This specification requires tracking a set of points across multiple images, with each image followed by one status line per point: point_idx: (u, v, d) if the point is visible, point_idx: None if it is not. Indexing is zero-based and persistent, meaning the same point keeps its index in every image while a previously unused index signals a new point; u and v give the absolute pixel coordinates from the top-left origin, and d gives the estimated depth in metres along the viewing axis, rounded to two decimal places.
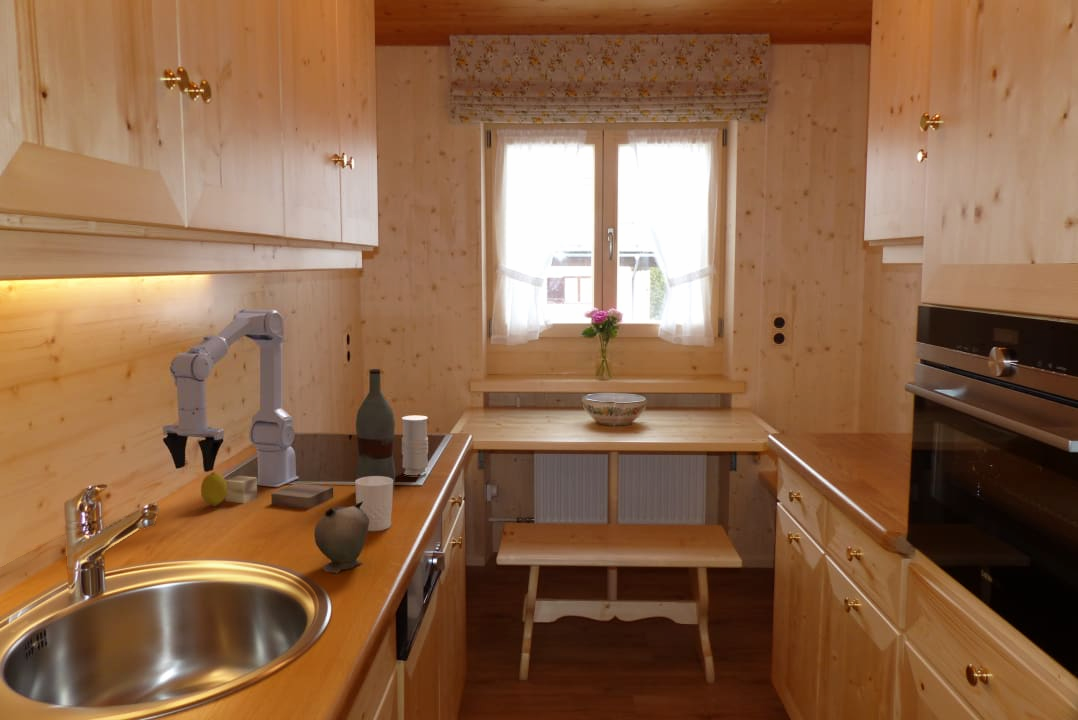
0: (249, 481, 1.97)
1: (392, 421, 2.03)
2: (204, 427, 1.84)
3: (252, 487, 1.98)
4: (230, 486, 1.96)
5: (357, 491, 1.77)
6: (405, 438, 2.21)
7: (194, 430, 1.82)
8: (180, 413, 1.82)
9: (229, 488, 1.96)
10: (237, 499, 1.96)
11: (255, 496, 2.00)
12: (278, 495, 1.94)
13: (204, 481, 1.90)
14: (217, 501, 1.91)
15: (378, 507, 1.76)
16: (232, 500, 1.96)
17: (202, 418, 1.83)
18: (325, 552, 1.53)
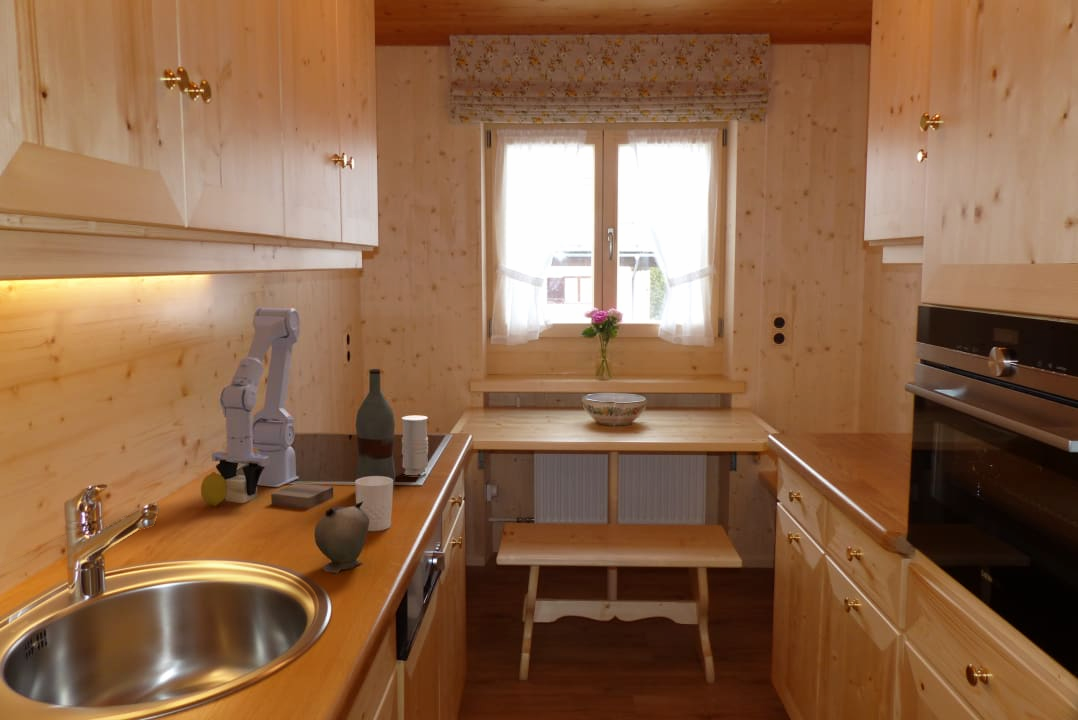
0: None
1: (392, 421, 2.03)
2: (251, 454, 1.97)
3: None
4: (230, 486, 1.96)
5: (357, 491, 1.77)
6: (405, 438, 2.21)
7: (242, 457, 1.95)
8: (229, 441, 1.95)
9: (229, 488, 1.96)
10: (237, 498, 1.96)
11: (255, 496, 1.99)
12: (278, 496, 1.94)
13: (204, 481, 1.90)
14: (217, 501, 1.91)
15: (378, 507, 1.76)
16: (232, 500, 1.96)
17: (249, 446, 1.96)
18: (325, 552, 1.53)
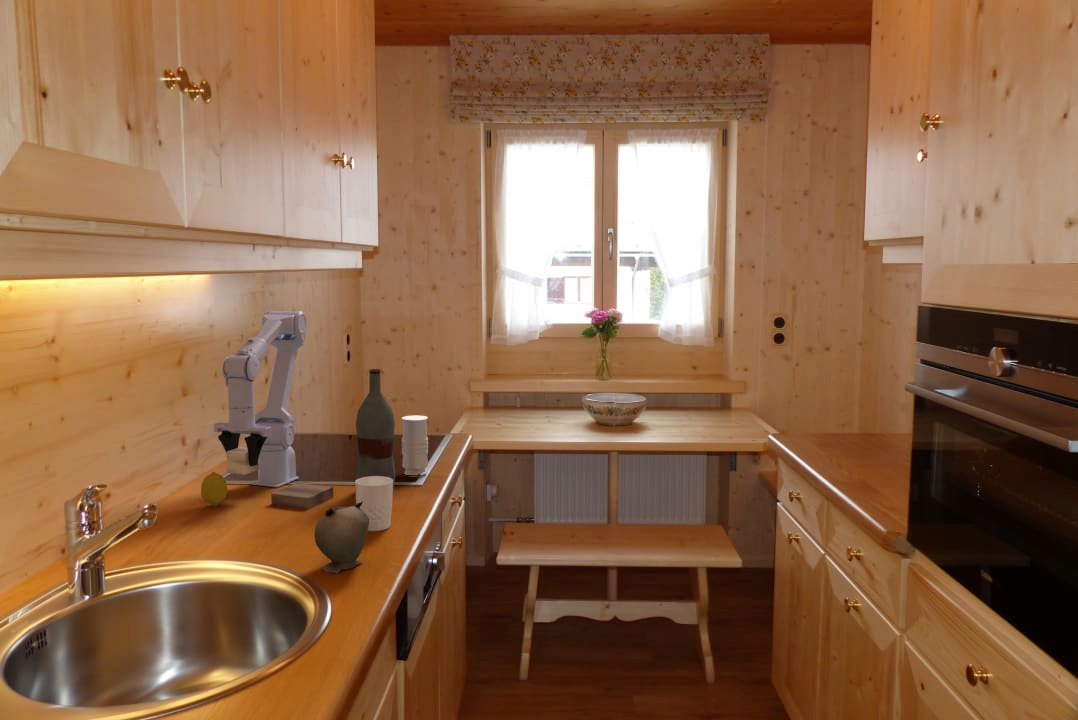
0: None
1: (392, 421, 2.03)
2: (253, 425, 1.96)
3: None
4: (232, 457, 1.95)
5: (357, 491, 1.77)
6: (405, 438, 2.21)
7: (244, 427, 1.94)
8: (231, 411, 1.94)
9: (231, 459, 1.95)
10: (239, 470, 1.95)
11: (257, 467, 1.99)
12: (278, 496, 1.94)
13: (204, 481, 1.90)
14: (217, 501, 1.91)
15: (378, 507, 1.76)
16: (234, 471, 1.95)
17: (251, 416, 1.95)
18: (325, 552, 1.53)
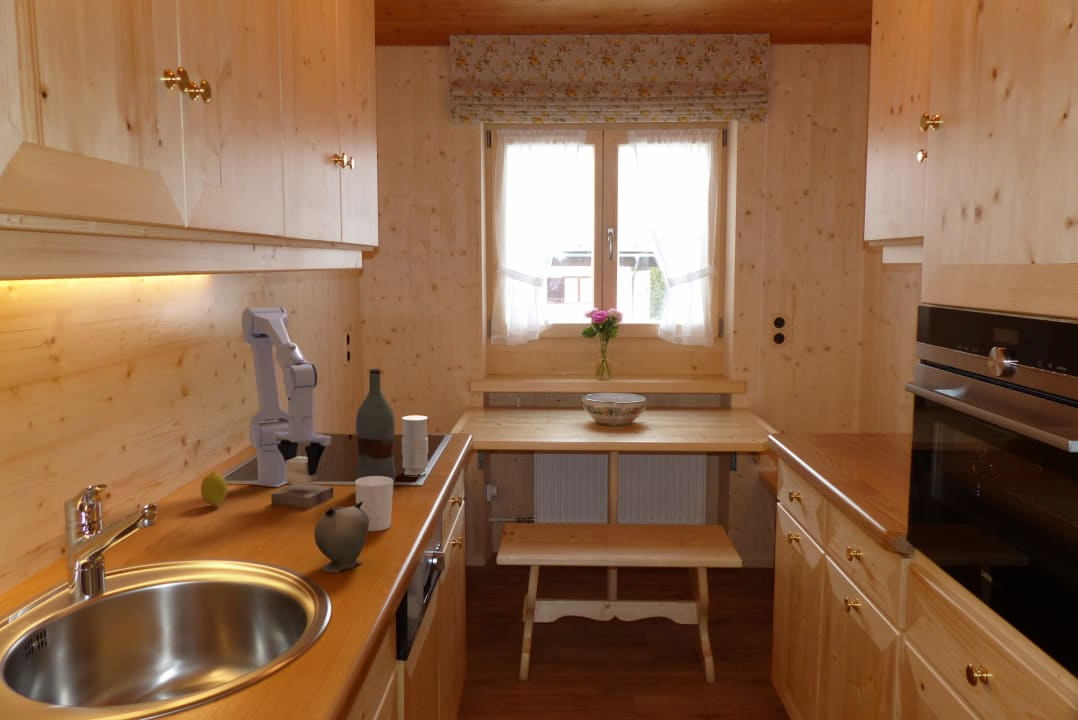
0: None
1: (392, 421, 2.03)
2: (312, 434, 1.95)
3: None
4: (291, 466, 1.95)
5: (357, 491, 1.77)
6: (405, 438, 2.21)
7: (304, 437, 1.93)
8: (291, 421, 1.93)
9: (290, 468, 1.95)
10: (298, 479, 1.94)
11: (315, 477, 1.98)
12: (278, 496, 1.94)
13: (204, 481, 1.90)
14: (217, 501, 1.91)
15: (378, 507, 1.76)
16: (293, 480, 1.95)
17: (311, 425, 1.95)
18: (325, 552, 1.53)
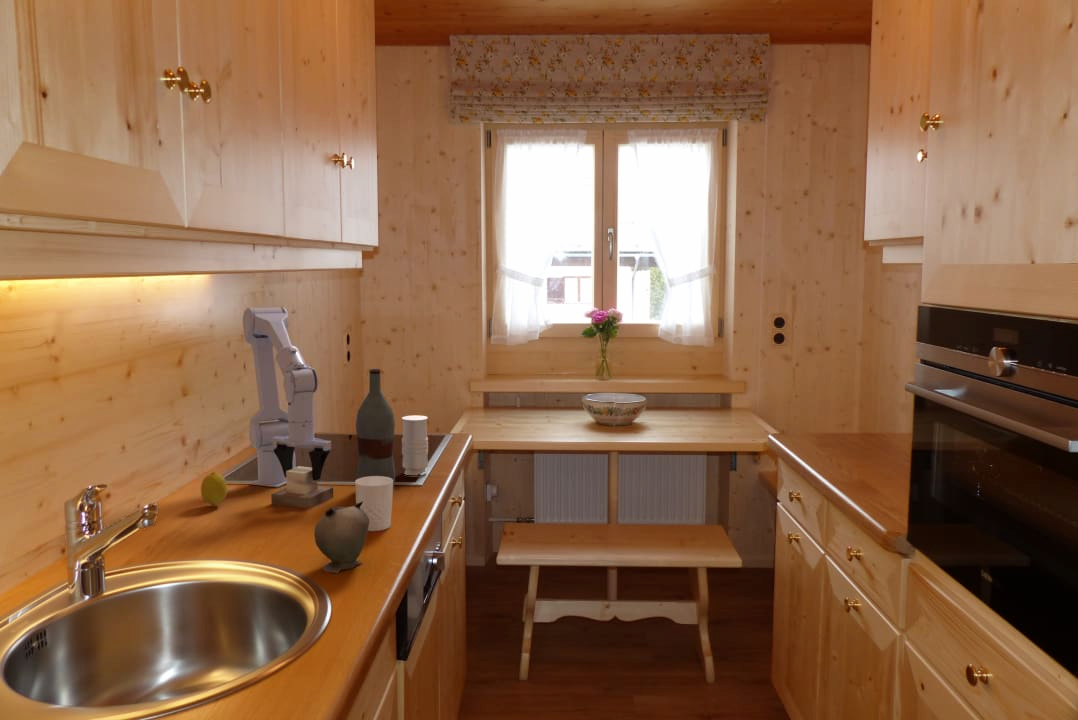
0: (310, 472, 1.96)
1: (392, 421, 2.03)
2: (312, 439, 1.96)
3: None
4: (292, 477, 1.95)
5: (357, 491, 1.77)
6: (405, 438, 2.21)
7: (304, 442, 1.94)
8: (291, 426, 1.93)
9: (290, 479, 1.95)
10: (298, 490, 1.95)
11: (315, 487, 1.98)
12: (278, 496, 1.94)
13: (204, 481, 1.90)
14: (217, 501, 1.91)
15: (378, 507, 1.76)
16: (293, 491, 1.95)
17: (311, 430, 1.95)
18: (325, 552, 1.53)
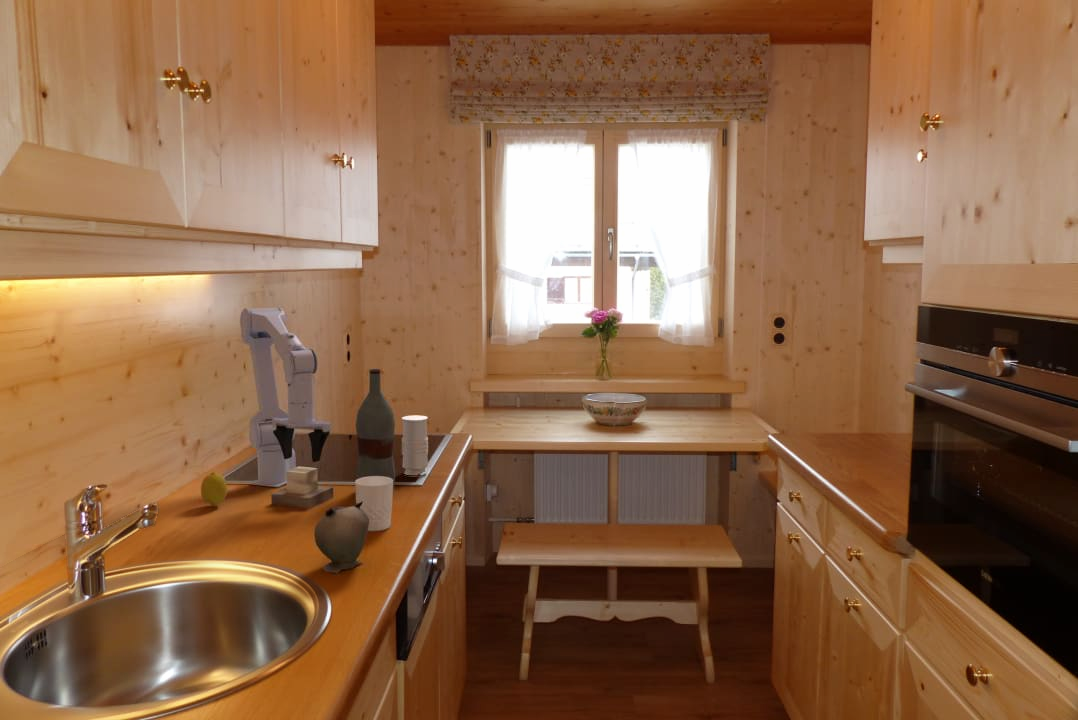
0: (310, 472, 1.96)
1: (392, 421, 2.03)
2: (312, 420, 1.95)
3: (313, 478, 1.97)
4: (292, 477, 1.95)
5: (357, 491, 1.77)
6: (405, 438, 2.21)
7: (304, 423, 1.93)
8: (291, 407, 1.93)
9: (290, 479, 1.95)
10: (299, 490, 1.95)
11: (316, 487, 1.98)
12: (278, 496, 1.94)
13: (204, 481, 1.90)
14: (217, 501, 1.91)
15: (378, 507, 1.76)
16: (293, 491, 1.95)
17: (311, 411, 1.94)
18: (325, 552, 1.53)
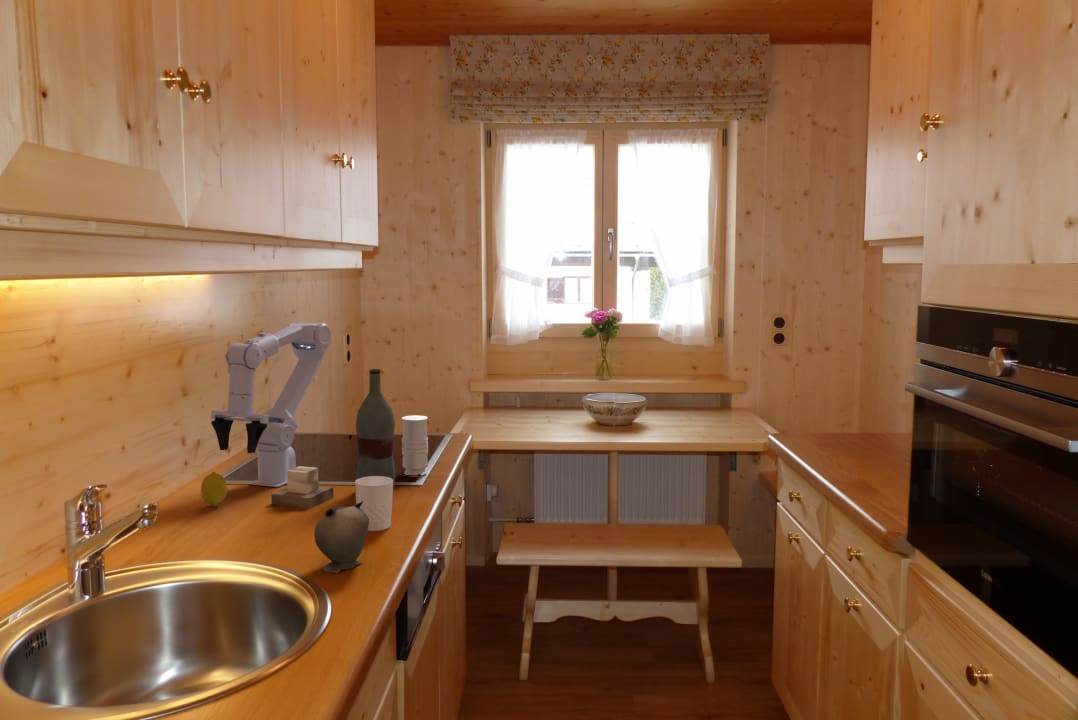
0: (311, 471, 1.96)
1: (392, 421, 2.03)
2: (251, 412, 2.00)
3: (314, 477, 1.97)
4: (293, 477, 1.95)
5: (357, 491, 1.77)
6: (405, 438, 2.21)
7: (242, 413, 1.98)
8: (231, 397, 1.98)
9: (291, 478, 1.95)
10: (300, 489, 1.95)
11: (316, 487, 1.99)
12: (278, 496, 1.94)
13: (204, 481, 1.90)
14: (217, 501, 1.91)
15: (378, 507, 1.76)
16: (294, 490, 1.95)
17: (250, 403, 2.00)
18: (325, 552, 1.53)
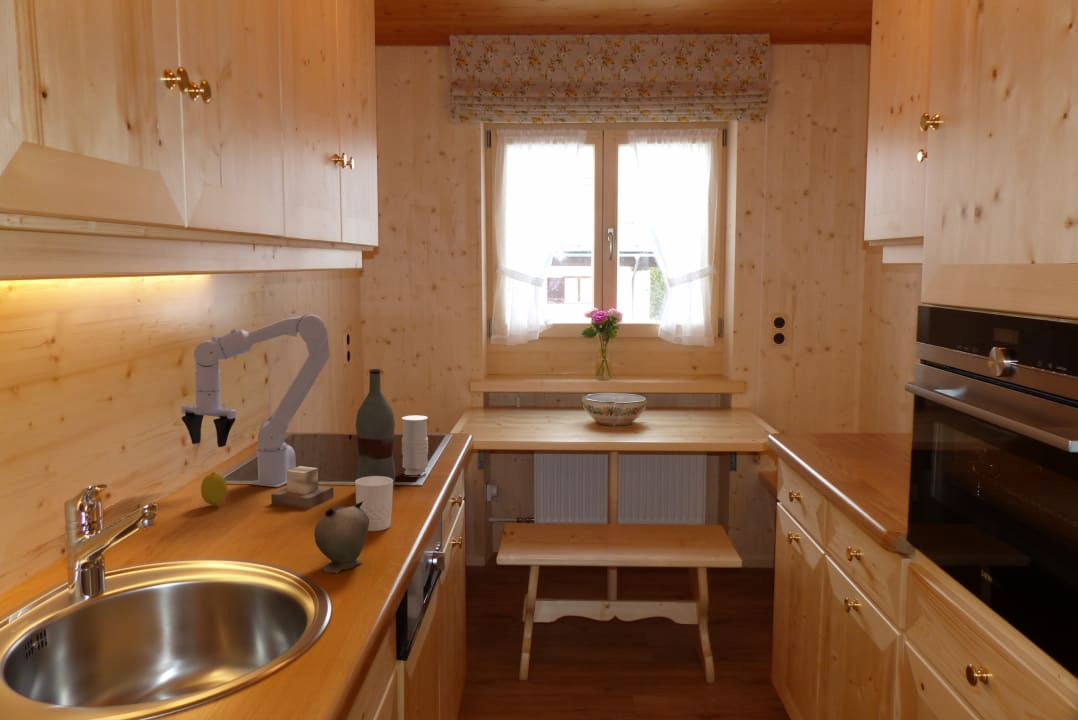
0: (310, 472, 1.96)
1: (392, 421, 2.03)
2: (218, 407, 2.06)
3: (313, 478, 1.97)
4: (292, 477, 1.95)
5: (357, 491, 1.77)
6: (405, 438, 2.21)
7: (210, 410, 2.04)
8: (197, 394, 2.04)
9: (291, 478, 1.96)
10: (298, 489, 1.95)
11: (316, 487, 1.98)
12: (278, 496, 1.94)
13: (204, 481, 1.90)
14: (217, 501, 1.91)
15: (378, 507, 1.76)
16: (293, 490, 1.96)
17: (217, 399, 2.06)
18: (325, 552, 1.53)
